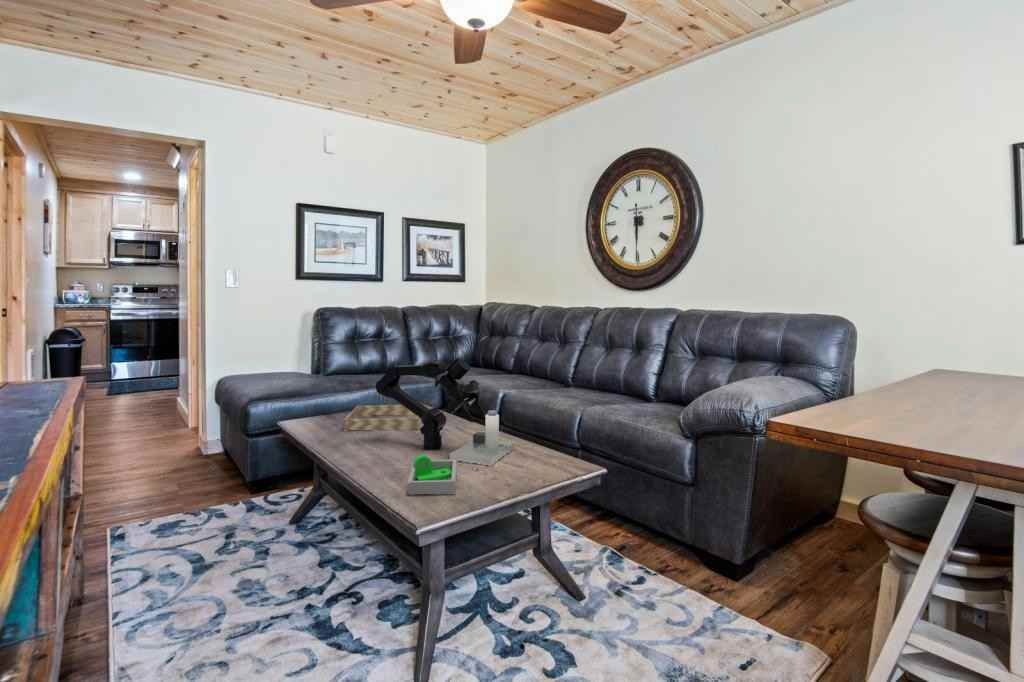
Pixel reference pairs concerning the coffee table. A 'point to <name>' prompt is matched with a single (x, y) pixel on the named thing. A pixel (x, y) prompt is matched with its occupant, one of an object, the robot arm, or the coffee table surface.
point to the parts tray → (433, 485)
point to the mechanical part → (429, 470)
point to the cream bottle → (492, 430)
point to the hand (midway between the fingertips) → (478, 418)
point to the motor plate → (481, 451)
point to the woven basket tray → (381, 424)
